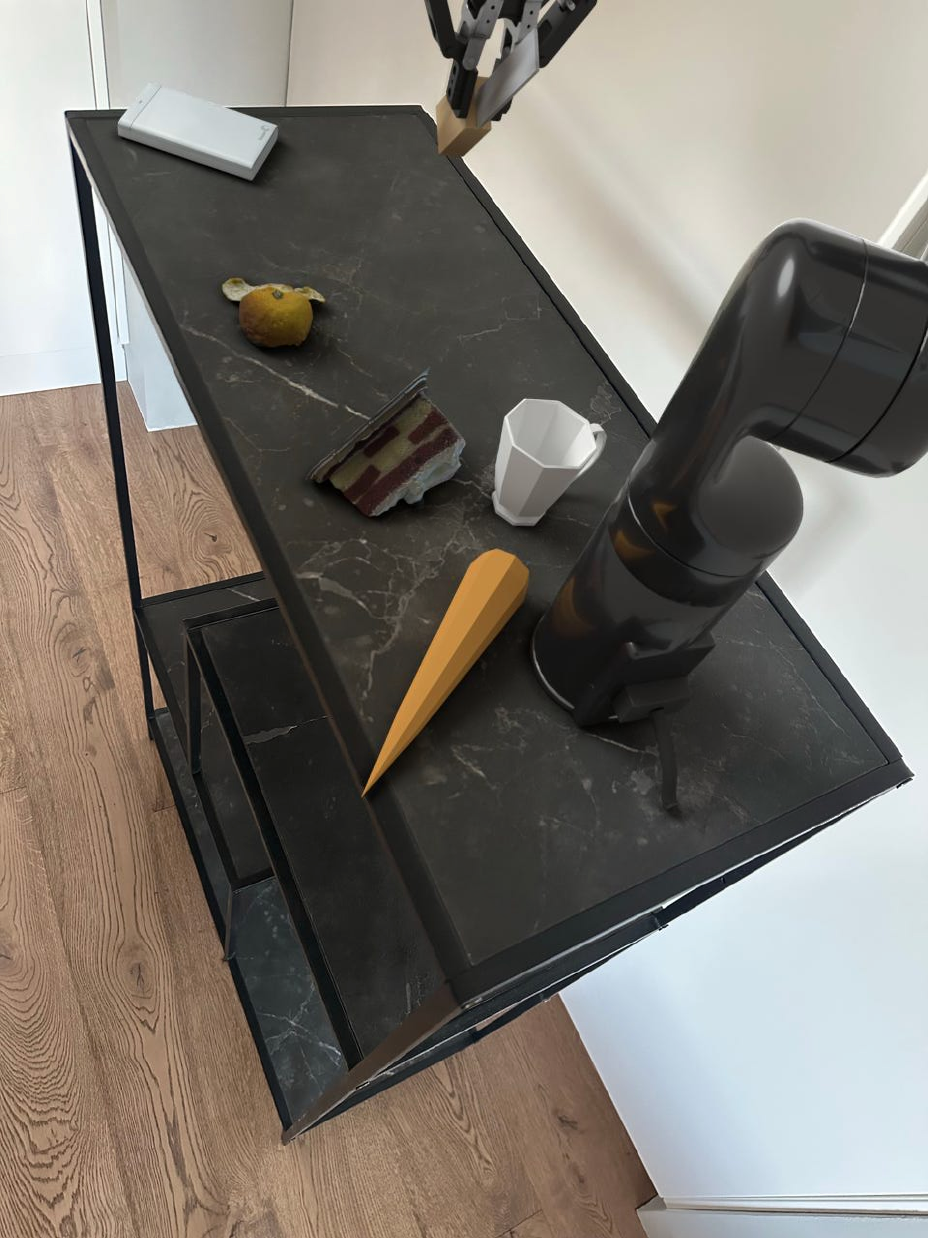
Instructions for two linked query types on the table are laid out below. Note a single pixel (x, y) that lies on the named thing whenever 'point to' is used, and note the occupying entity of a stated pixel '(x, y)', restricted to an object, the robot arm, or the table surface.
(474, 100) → the knife
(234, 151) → the hard drive
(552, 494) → the cup
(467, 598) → the carrot
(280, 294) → the fruit
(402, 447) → the chocolate cake
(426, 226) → the table surface
